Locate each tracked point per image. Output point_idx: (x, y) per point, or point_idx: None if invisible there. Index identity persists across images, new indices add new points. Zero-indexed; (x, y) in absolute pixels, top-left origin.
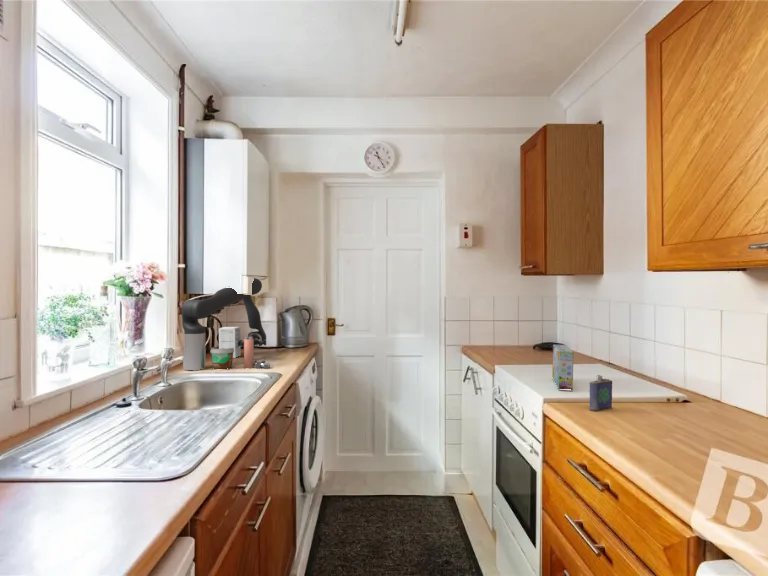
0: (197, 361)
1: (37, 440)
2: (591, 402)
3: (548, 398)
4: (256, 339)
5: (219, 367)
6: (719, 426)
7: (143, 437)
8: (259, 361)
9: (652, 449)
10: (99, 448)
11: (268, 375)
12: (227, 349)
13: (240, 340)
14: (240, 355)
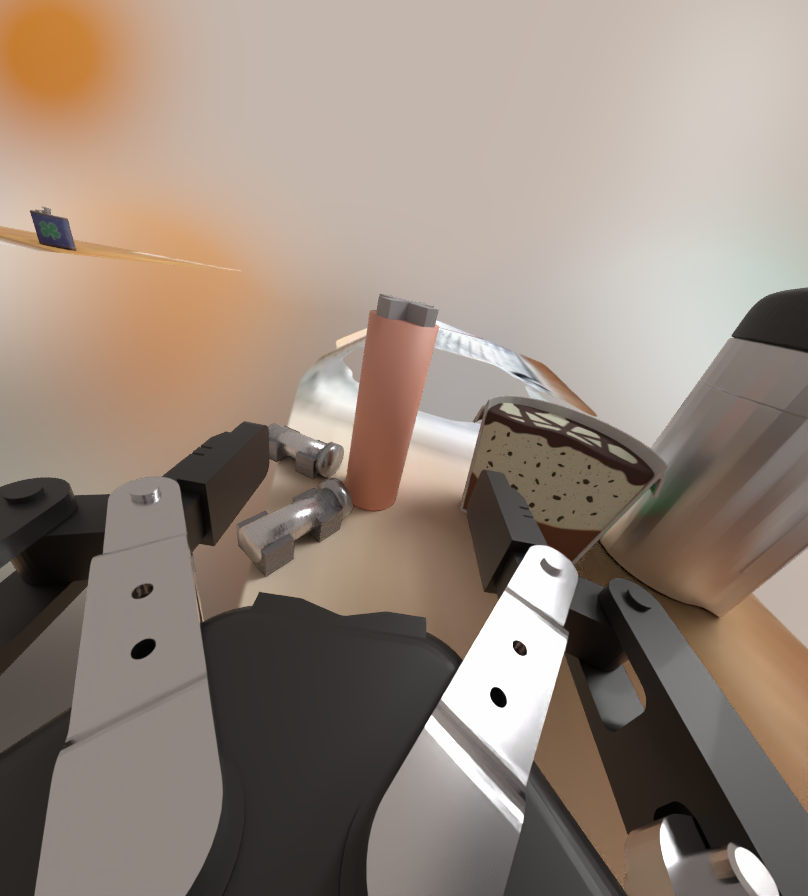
0: None
1: (517, 356)
2: (73, 241)
3: (37, 250)
4: (196, 621)
5: None
6: None
7: (447, 338)
8: (297, 500)
9: (163, 260)
10: (465, 340)
11: (315, 388)
12: (509, 400)
13: (762, 804)
14: None
